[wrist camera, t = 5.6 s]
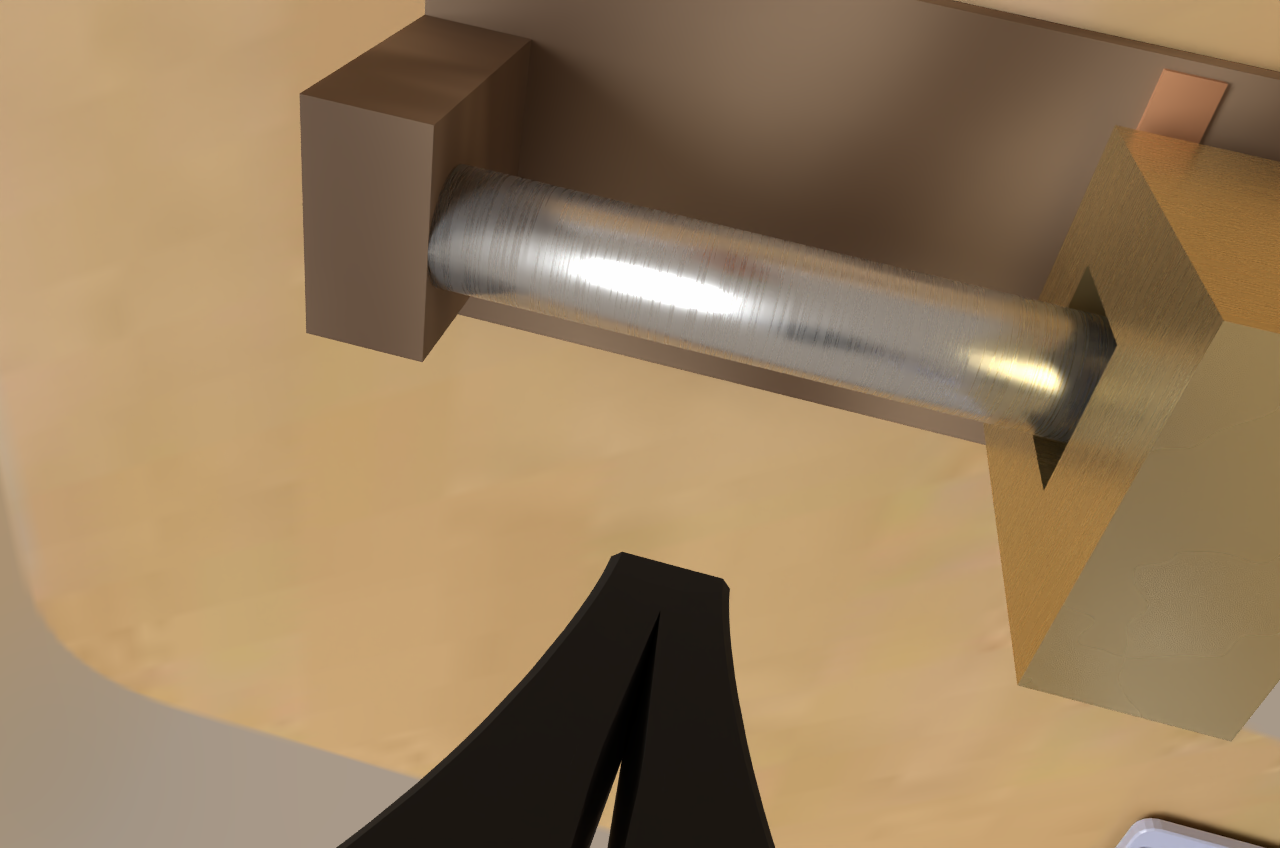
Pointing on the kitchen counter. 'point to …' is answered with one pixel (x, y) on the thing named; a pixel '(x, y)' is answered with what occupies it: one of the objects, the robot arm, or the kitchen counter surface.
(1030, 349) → the pipe
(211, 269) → the kitchen counter surface
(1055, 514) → the brushed brass square block
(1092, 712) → the kitchen counter surface
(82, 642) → the kitchen counter surface
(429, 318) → the slider rail
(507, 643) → the kitchen counter surface
